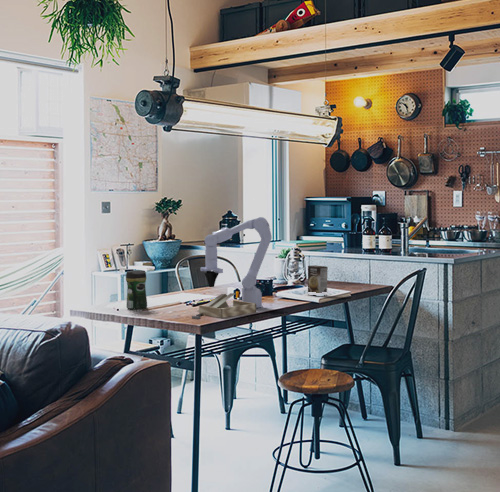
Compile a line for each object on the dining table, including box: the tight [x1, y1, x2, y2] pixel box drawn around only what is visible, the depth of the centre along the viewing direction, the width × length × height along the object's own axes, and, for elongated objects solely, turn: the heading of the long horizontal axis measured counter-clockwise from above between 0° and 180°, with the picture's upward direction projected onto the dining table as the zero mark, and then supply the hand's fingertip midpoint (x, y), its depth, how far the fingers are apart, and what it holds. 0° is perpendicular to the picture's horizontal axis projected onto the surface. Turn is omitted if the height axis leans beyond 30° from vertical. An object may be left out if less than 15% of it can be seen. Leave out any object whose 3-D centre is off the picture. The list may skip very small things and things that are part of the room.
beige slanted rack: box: [197, 292, 237, 312], centre depth 321 cm, size 16×9×15 cm
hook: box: [191, 313, 204, 320], centre depth 308 cm, size 10×3×1 cm, turn 157°
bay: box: [198, 299, 257, 319], centre depth 318 cm, size 22×15×4 cm
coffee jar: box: [125, 269, 148, 310], centre depth 332 cm, size 10×8×19 cm
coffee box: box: [307, 265, 328, 293], centre depth 373 cm, size 9×6×16 cm
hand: (211, 286), depth 335 cm, fingers closed
